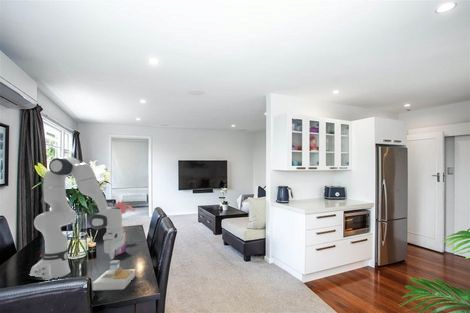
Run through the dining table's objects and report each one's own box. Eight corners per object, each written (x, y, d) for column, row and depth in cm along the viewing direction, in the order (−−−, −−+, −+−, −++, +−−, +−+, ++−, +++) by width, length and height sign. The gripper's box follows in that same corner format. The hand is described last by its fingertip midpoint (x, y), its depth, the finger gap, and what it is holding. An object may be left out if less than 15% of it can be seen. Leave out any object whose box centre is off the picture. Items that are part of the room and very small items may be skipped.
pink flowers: (101, 243, 220) (101, 202, 221) (130, 237, 239) (130, 199, 240) (108, 247, 210) (108, 204, 211) (138, 240, 229) (138, 200, 230)
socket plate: (92, 290, 134) (92, 282, 134) (107, 277, 150) (107, 270, 150) (123, 289, 134) (123, 281, 134) (135, 276, 150) (135, 269, 150)
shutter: (113, 278, 137) (113, 272, 138) (120, 271, 146) (120, 266, 147) (126, 278, 138) (126, 272, 138) (132, 271, 147) (132, 265, 147)
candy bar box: (115, 256, 185) (115, 233, 186) (109, 256, 187) (109, 233, 187) (126, 251, 196) (125, 229, 197) (120, 251, 197) (120, 229, 198)
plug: (109, 274, 154) (109, 263, 155) (112, 271, 159) (112, 260, 159) (116, 273, 154) (116, 262, 155) (120, 270, 159) (120, 260, 159)
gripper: (117, 229, 168) (117, 250, 167) (101, 237, 148) (102, 262, 147) (126, 228, 168) (127, 250, 167) (112, 236, 148) (113, 261, 147)
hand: (115, 255), depth 157 cm, fingers open, 8 cm apart
